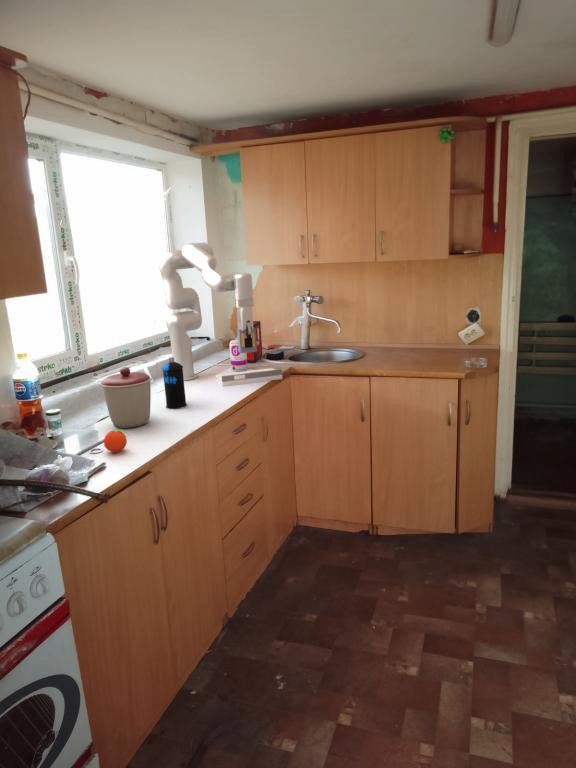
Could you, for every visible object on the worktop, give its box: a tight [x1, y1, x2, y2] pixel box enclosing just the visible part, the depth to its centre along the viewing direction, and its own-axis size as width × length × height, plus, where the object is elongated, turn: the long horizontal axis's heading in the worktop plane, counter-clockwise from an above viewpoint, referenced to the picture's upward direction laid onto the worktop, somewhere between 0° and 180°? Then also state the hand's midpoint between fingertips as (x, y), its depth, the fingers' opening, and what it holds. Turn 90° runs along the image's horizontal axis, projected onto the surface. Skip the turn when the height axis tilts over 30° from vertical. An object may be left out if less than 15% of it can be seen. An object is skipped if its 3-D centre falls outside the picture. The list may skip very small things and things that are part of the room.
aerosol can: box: [161, 356, 188, 410], centre depth 225 cm, size 8×8×20 cm
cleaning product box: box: [236, 320, 263, 364], centre depth 306 cm, size 16×9×20 cm, turn 170°
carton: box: [236, 327, 257, 353], centre depth 241 cm, size 5×7×10 cm
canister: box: [99, 367, 153, 429], centre depth 205 cm, size 18×18×21 cm
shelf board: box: [215, 367, 283, 387], centre depth 265 cm, size 28×16×4 cm, turn 107°
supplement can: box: [228, 338, 249, 372], centre depth 284 cm, size 8×8×15 cm
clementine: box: [103, 429, 130, 453], centre depth 179 cm, size 8×7×7 cm
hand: (247, 345), depth 242 cm, fingers closed on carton, 4 cm apart
